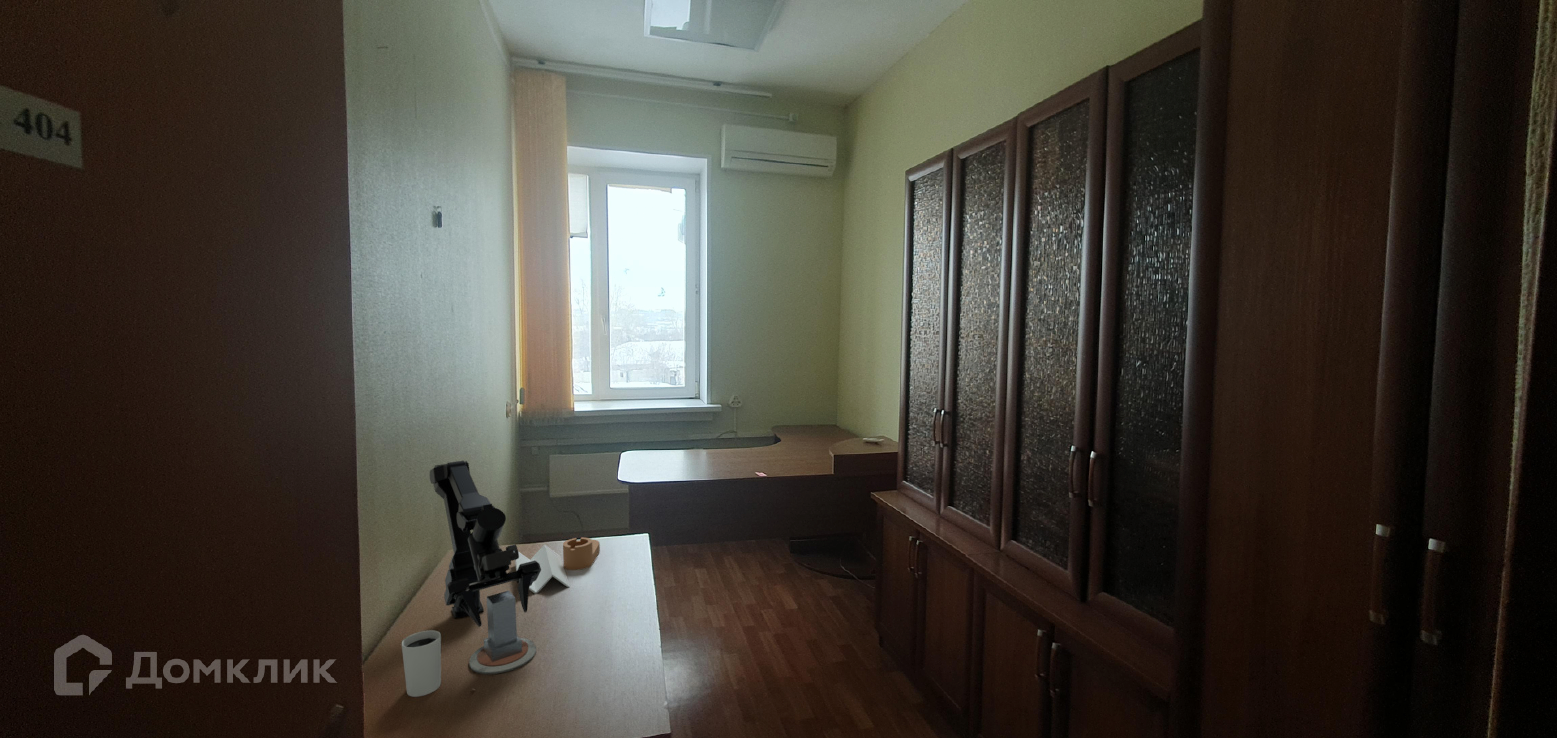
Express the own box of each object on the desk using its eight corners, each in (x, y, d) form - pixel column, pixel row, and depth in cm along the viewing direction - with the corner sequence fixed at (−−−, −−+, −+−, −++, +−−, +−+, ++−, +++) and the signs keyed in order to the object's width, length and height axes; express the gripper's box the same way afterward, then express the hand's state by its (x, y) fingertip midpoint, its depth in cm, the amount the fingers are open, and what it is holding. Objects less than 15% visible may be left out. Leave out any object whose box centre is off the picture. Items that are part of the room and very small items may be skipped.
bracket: (589, 569, 176) (588, 546, 176) (560, 571, 175) (559, 547, 175) (602, 547, 194) (601, 526, 194) (575, 548, 193) (575, 527, 193)
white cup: (415, 678, 122) (412, 631, 121) (449, 677, 122) (447, 629, 122) (396, 699, 115) (394, 648, 114) (433, 697, 116) (430, 647, 115)
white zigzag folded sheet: (545, 572, 185) (560, 555, 187) (553, 606, 163) (570, 587, 164) (513, 549, 181) (529, 533, 182) (517, 581, 158) (535, 562, 160)
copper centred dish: (465, 652, 131) (465, 647, 131) (528, 635, 139) (528, 629, 138) (474, 681, 121) (473, 675, 120) (542, 661, 128) (541, 655, 128)
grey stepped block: (484, 650, 130) (481, 596, 129) (513, 640, 134) (511, 588, 133) (492, 662, 125) (489, 606, 124) (522, 651, 129) (520, 597, 128)
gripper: (444, 545, 125) (461, 616, 117) (536, 525, 137) (556, 588, 129) (437, 571, 131) (452, 639, 124) (526, 549, 143) (544, 611, 136)
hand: (503, 618), depth 128 cm, fingers open, 9 cm apart
